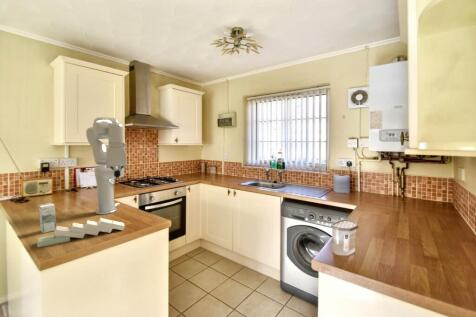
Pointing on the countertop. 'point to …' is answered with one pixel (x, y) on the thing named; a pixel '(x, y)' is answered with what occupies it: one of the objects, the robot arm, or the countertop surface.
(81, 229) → the domino
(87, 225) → the domino
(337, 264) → the countertop surface
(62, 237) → the sage domino
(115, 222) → the domino
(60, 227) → the domino
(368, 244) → the countertop surface
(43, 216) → the syrup box
